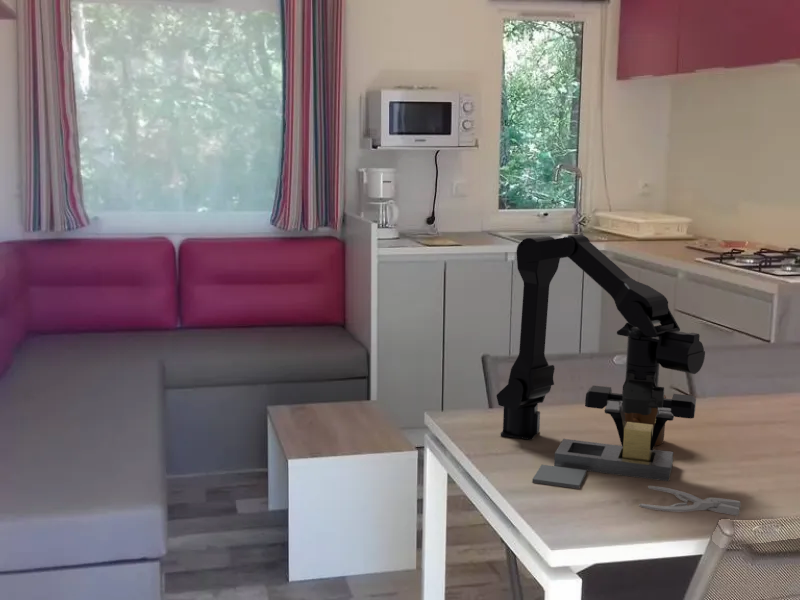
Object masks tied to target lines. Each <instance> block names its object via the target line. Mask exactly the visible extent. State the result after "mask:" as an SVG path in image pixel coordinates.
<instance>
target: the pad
mask: <svg viewBox="0 0 800 600" xmlns="http://www.w3.org/2000/svg"><path fill="white" fill-rule="evenodd" d="M586 475H587V471H586V470H580V469H573V468H565V467H557V466H554V465H548V464H541V465H540V466H539V468H538V470H537V471H536V473H535V474H534V476H533V478H532V481H531V482H532V483H534V484H541V485H549V486H554V487H555V486H556V487H564V488H565V487H566V488H571V489H579V490H580V488H581V486H582V484H583V481H584V479H585V478H586Z"/></svg>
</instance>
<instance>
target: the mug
mask: <svg viewBox="0 0 800 600" xmlns="http://www.w3.org/2000/svg"><path fill="white" fill-rule="evenodd" d="M664 398H666V399H667V396H666V395H665V394H664ZM657 412H658V408H652V409H651V413H650V414H649V415H641V414H638V413H630V414H629V413H625V426H626V423H627V422H634V423H643V424H652V425H653V429H654V425H655V419H656V415H657ZM665 428H666V423H665V424H664V426H663V428H662V429H661V431H660V433H659V436H658V438H657V441H656V443H655V446H654V447H656V446H657V447H658V446H661V444H663V442H664V440H665V430H666V429H665Z"/></svg>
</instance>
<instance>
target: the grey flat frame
mask: <svg viewBox="0 0 800 600" xmlns="http://www.w3.org/2000/svg"><path fill="white" fill-rule="evenodd" d="M622 457H623V447H622V445H617V444H609V443H602V442H593V441H592V442H591V441H586V440H585V441H584V440H576V439H567V438H563V439H562V441H561V442H560V444H559V446H558V447H557V449H556V450H555V451H554V461H553V463H554V464H553V466H557V467H565V468H573V469H580V470H586V472H595V473H602V474H610V475H617V476H624V477H632V478H633V477H634V478H640V479H641V478H642V479H647V480H654V481H656V480H657V481H665V482H669V481H670V477H671V472H672V468H673V461H674V452H673V451H669V450H660V449H653V450H651V462H643V461H635V460H627V459H622Z"/></svg>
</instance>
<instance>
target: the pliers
mask: <svg viewBox="0 0 800 600" xmlns="http://www.w3.org/2000/svg"><path fill="white" fill-rule="evenodd" d="M647 487H648V488H647V489H649V490H655V491H658V492H662V493H663V492H664V493H668V494H672V495H674V496H675V497H676V498H677V499H678V500H680V501H683V502H678V503H673V504H671V505H657V504H656V505H654V504H647V503H646V504H645V503H639V504H638V507H641V508H643V509H647V510H649V509H650V510H656V511H661V510H662V511H661V512H672V513H673V512H675V513H676V512H677V513H678V512H679V513H683V512H684V513H685V512H693V511H707V510H708V511H712V512H715V513H719V514H720V513H721V514H725V515H731V516H739V515H740V510H741V501H740V500H734V499H729V498H727V499H726V498H722V497H707V498H705V499H703V498H702V499H701V498H700V497H698V496H695V495H693V494H690V493H688V492H685V491H681V490H677V489H673V488H669V487H663V486H655V485H648V486H647ZM689 501H690V502H692V503H693V504H689V505H688V503H689Z"/></svg>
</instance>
